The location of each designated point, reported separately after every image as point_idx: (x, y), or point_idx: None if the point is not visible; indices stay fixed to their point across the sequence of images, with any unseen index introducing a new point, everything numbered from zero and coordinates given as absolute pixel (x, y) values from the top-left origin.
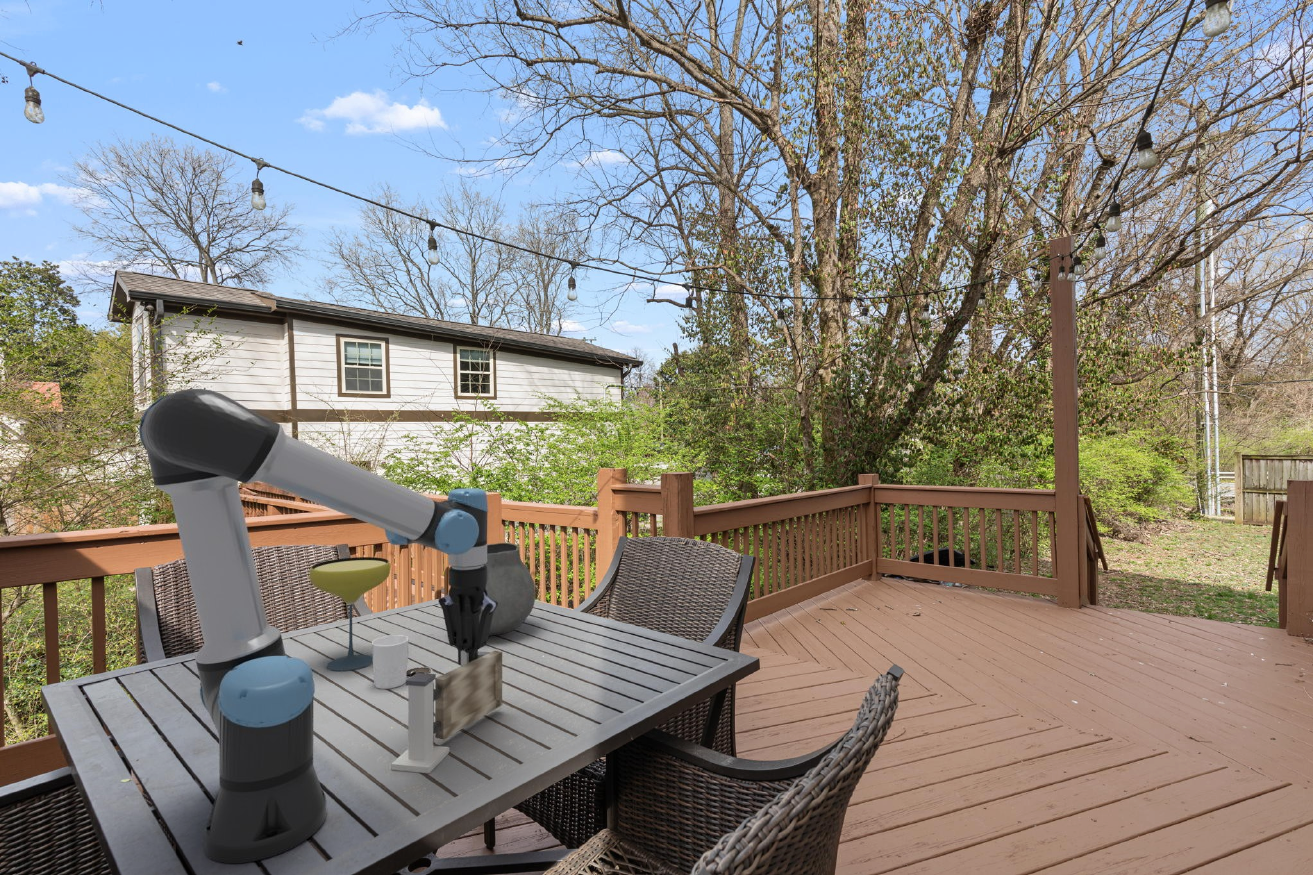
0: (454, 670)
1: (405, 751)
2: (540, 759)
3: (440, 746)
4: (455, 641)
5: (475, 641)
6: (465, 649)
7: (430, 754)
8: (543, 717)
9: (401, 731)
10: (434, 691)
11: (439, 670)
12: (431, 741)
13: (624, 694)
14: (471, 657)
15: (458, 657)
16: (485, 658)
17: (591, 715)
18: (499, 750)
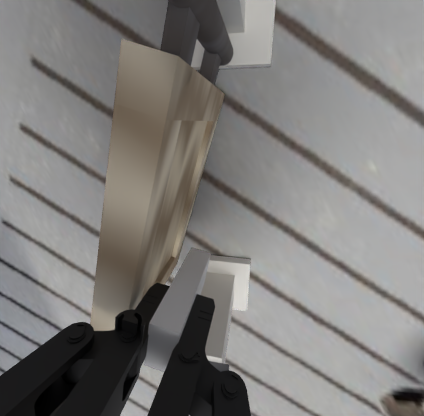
0: (143, 179)
1: (272, 17)
2: (12, 83)
3: (198, 65)
4: (212, 397)
5: (63, 362)
6: (141, 328)
7: None
8: (89, 234)
9: (338, 150)
10: (171, 15)
11: (363, 405)
12: None
13: (23, 309)
14: (146, 307)
15: (210, 320)
16: (102, 306)
17: (28, 245)
18: (94, 102)
